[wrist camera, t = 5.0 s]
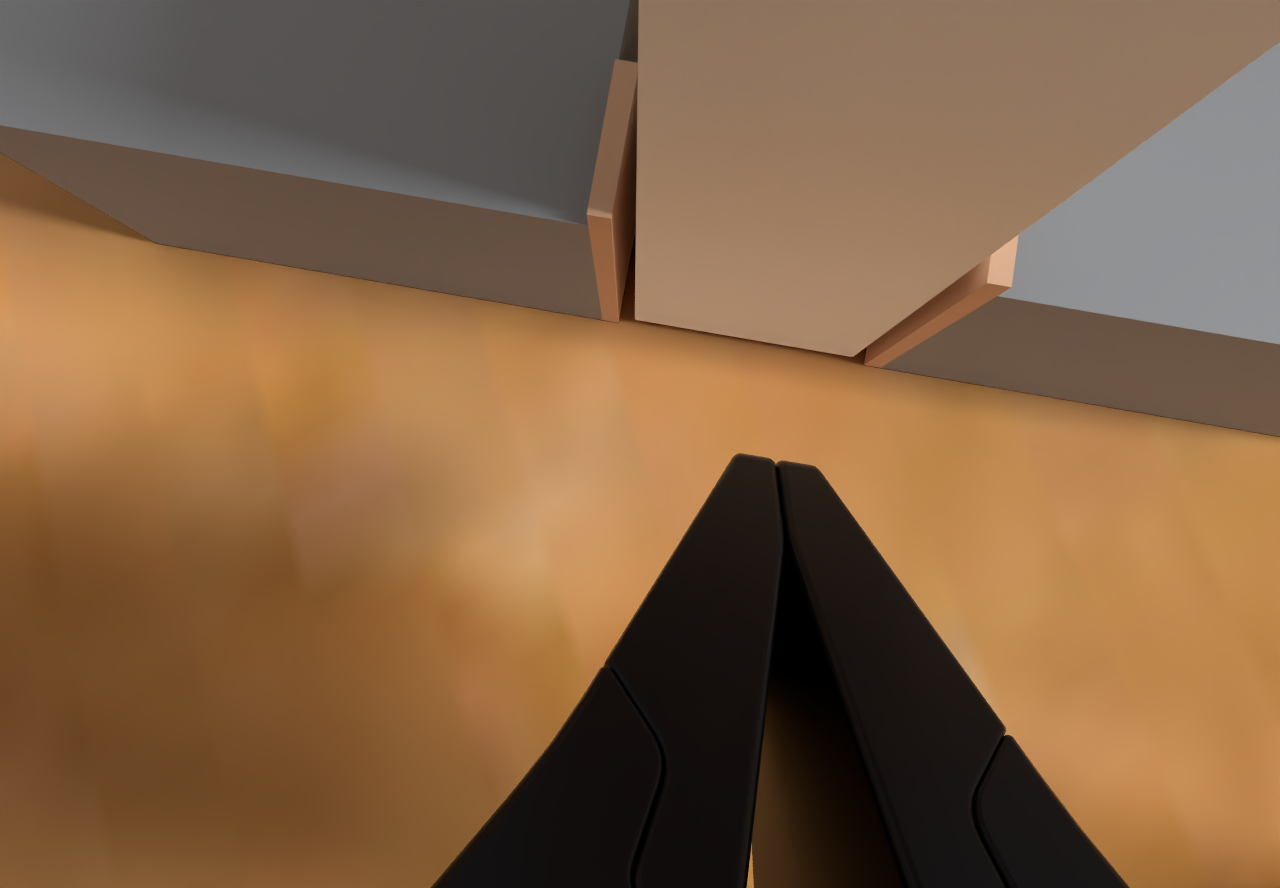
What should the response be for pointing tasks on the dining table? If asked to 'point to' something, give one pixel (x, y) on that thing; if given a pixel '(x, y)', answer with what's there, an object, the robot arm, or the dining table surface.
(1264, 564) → the dining table surface
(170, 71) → the grey blocks
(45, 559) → the dining table surface
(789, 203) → the peg block
